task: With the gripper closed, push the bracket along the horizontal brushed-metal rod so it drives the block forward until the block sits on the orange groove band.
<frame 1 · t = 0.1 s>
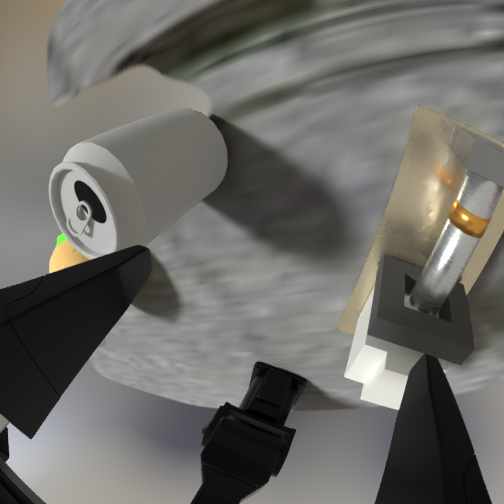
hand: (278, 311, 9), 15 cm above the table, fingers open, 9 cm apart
bracket: (398, 349, 20), point 5 cm above the table, slide at -5.5 cm
hamburger: (112, 255, 37), on the table
can: (192, 149, 24), on the table
beige mechanical fixture: (429, 255, 21), on the table
block: (422, 307, 18), point 4 cm above the table, slide at -1.5 cm
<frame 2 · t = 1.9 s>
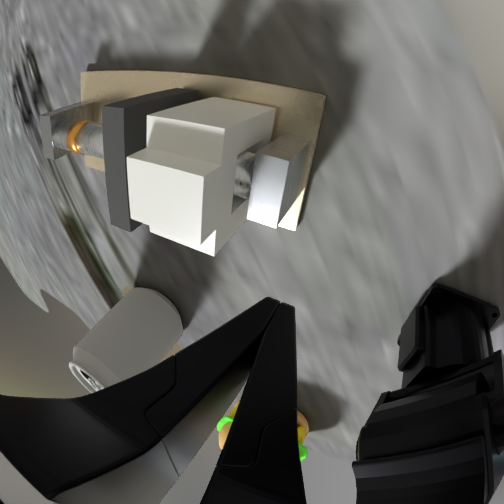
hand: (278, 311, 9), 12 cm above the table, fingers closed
bracket: (206, 170, 16), point 5 cm above the table, slide at -5.5 cm
hamburger: (274, 413, 37), on the table
can: (159, 308, 34), on the table
beige mechanical fixture: (174, 132, 21), on the table
block: (153, 153, 17), point 4 cm above the table, slide at -1.5 cm
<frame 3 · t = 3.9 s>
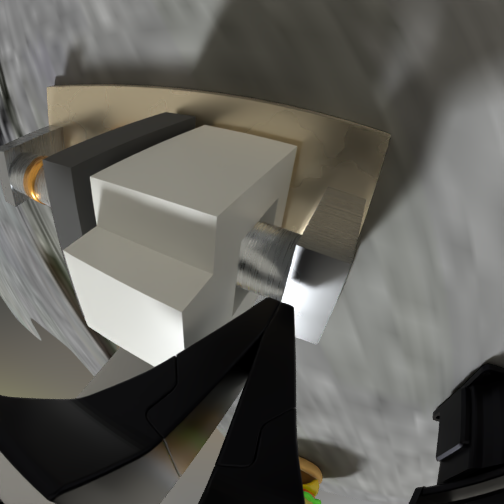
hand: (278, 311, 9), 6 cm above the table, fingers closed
bracket: (193, 249, 11), point 5 cm above the table, slide at -4.7 cm, touching gripper
hamburger: (285, 461, 32), on the table
can: (158, 362, 28), on the table
beige mechanical fixture: (165, 171, 16), on the table
block: (133, 215, 12), point 4 cm above the table, slide at -1.5 cm
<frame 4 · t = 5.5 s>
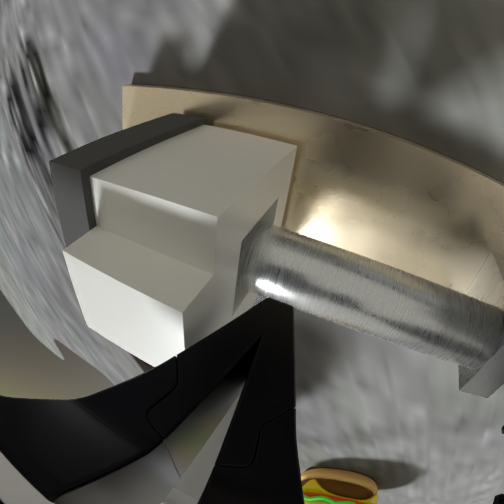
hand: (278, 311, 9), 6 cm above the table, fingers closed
bracket: (193, 248, 11), point 5 cm above the table, slide at 2.8 cm, touching gripper, block
hamburger: (340, 478, 30), on the table
can: (227, 396, 27), on the table
beige mechanical fixture: (307, 213, 14), on the table
block: (141, 218, 12), point 4 cm above the table, slide at 5.6 cm, touching bracket
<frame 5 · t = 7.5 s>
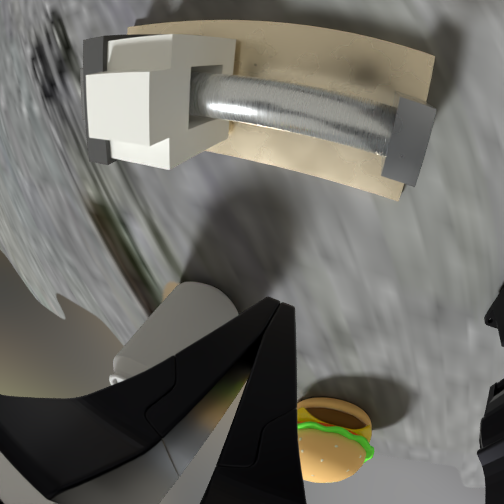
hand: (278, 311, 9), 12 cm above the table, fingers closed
bracket: (166, 94, 15), point 5 cm above the table, slide at 3.0 cm, touching block
hamburger: (332, 414, 33), on the table
can: (210, 305, 30), on the table
beige mechanical fixture: (253, 89, 17), on the table
block: (134, 91, 16), point 4 cm above the table, slide at 5.8 cm, touching bracket
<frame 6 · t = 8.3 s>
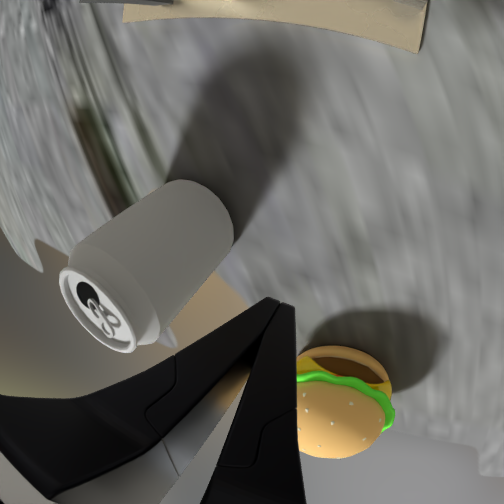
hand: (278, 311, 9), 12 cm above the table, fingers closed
hamburger: (341, 372, 29), on the table
can: (198, 217, 25), on the table
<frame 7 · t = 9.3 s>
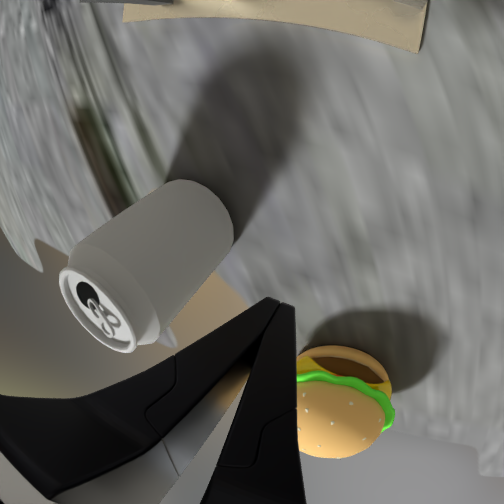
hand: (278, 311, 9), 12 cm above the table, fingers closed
hamburger: (341, 372, 29), on the table
can: (197, 217, 25), on the table
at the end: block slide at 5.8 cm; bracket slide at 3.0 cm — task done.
